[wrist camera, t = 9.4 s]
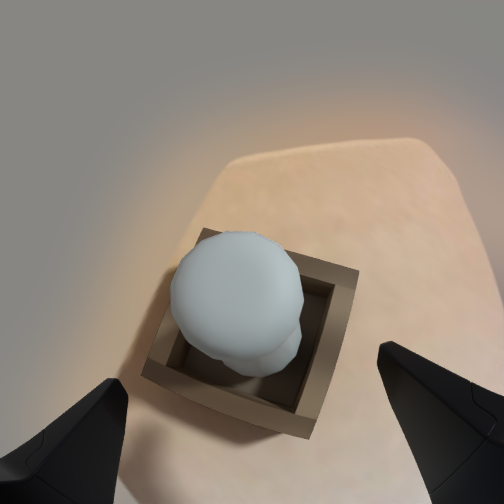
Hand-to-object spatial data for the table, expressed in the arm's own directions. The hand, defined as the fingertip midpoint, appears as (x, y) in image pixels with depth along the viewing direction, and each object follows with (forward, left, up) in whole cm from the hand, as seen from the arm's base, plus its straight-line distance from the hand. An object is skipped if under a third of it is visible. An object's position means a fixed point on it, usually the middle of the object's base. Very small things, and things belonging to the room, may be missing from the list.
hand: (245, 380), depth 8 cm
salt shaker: (+2, +2, -12) cm, 12 cm away
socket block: (+2, +2, -12) cm, 13 cm away
